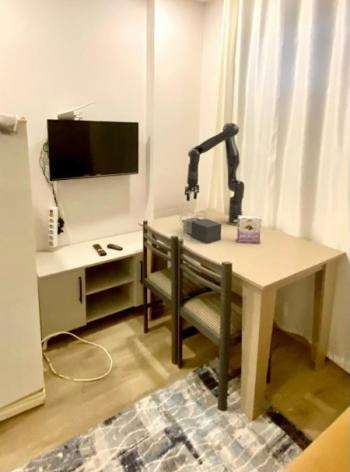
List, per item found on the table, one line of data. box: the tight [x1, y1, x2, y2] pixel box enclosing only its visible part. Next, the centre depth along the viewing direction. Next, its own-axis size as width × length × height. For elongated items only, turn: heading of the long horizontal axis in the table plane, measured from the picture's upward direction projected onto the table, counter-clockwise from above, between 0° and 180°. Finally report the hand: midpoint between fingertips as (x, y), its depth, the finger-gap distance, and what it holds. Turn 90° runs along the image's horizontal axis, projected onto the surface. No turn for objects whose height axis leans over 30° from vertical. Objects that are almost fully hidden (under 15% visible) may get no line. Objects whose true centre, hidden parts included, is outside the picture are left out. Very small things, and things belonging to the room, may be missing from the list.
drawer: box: [181, 216, 202, 235], centre depth 219 cm, size 18×11×9 cm, turn 39°
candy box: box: [236, 215, 262, 244], centre depth 205 cm, size 14×6×16 cm, turn 84°
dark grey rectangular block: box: [190, 217, 222, 245], centre depth 210 cm, size 15×13×11 cm
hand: (191, 199), depth 230 cm, fingers open, 8 cm apart
